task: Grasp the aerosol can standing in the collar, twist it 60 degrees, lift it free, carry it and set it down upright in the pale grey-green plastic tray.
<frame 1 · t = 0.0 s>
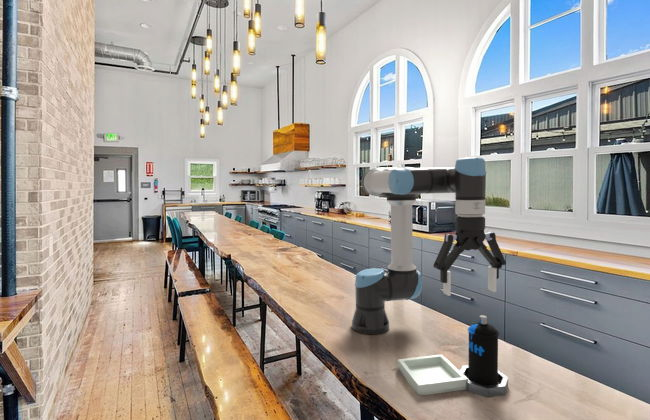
hand: (469, 292, 99), 28 cm above the table, fingers open, 13 cm apart
aerosol can: (482, 384, 104), resting in collar
tray: (431, 378, 108), on the table
collar: (482, 383, 104), on the table
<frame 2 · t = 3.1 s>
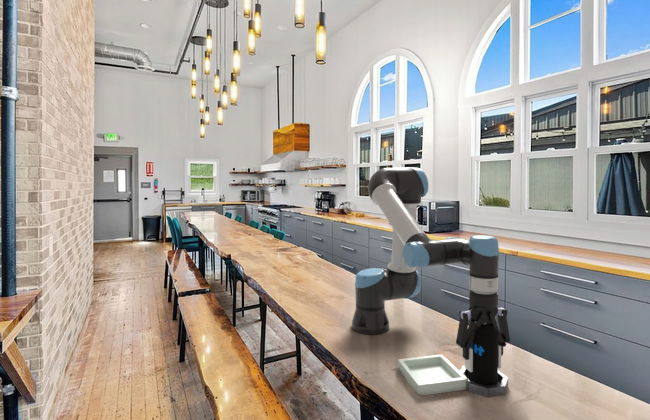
hand: (482, 367, 104), 5 cm above the table, fingers closed on aerosol can, 8 cm apart
aerosol can: (482, 384, 104), resting in collar, touching gripper
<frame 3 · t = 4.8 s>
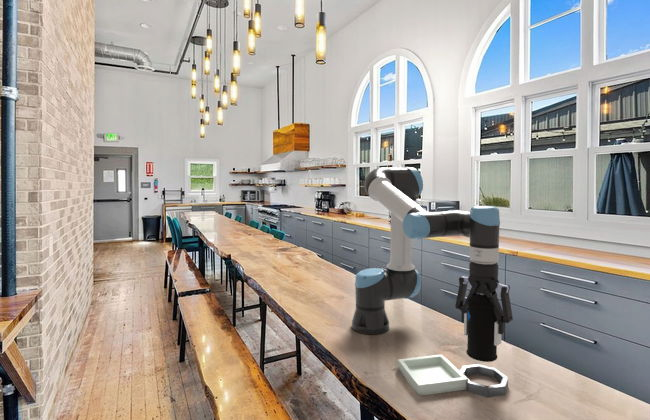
hand: (482, 338, 103), 13 cm above the table, fingers closed on aerosol can, 8 cm apart
aerosol can: (481, 355, 104), point 8 cm above the table, touching gripper
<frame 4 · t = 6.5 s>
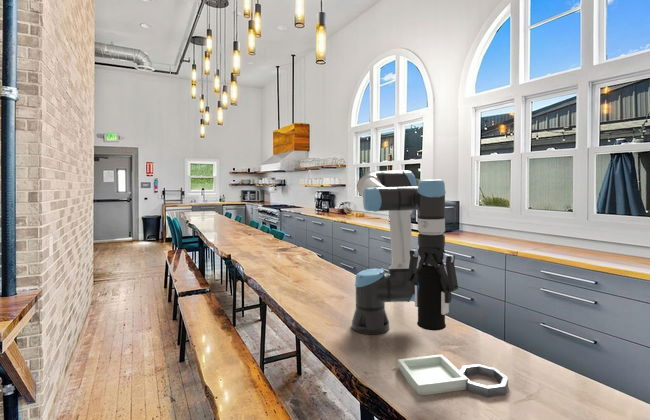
hand: (431, 309, 106), 21 cm above the table, fingers closed on aerosol can, 8 cm apart
aerosol can: (431, 325, 106), point 16 cm above the table, touching gripper
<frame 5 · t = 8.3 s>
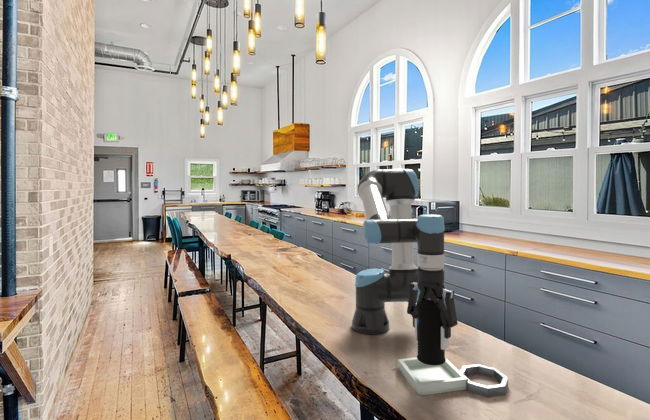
hand: (431, 343, 107), 11 cm above the table, fingers closed on aerosol can, 8 cm apart
aerosol can: (431, 359, 107), point 6 cm above the table, touching gripper
when the fingers open (7 cm above the table, at t = 10.0 s): aerosol can drops 1 cm, resting on tray.
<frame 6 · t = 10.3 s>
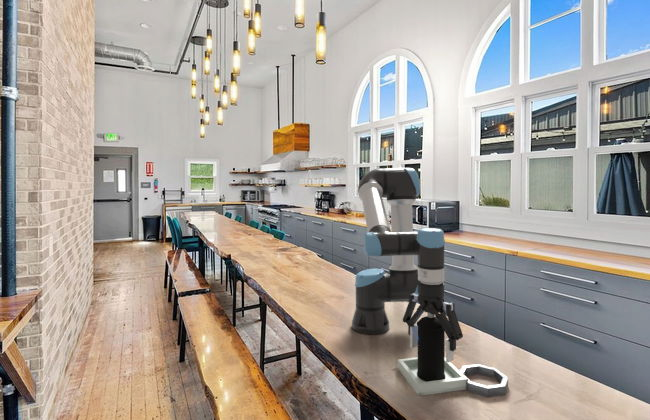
hand: (431, 353, 107), 8 cm above the table, fingers open, 11 cm apart
aerosol can: (430, 376, 108), point 1 cm above the table, touching tray
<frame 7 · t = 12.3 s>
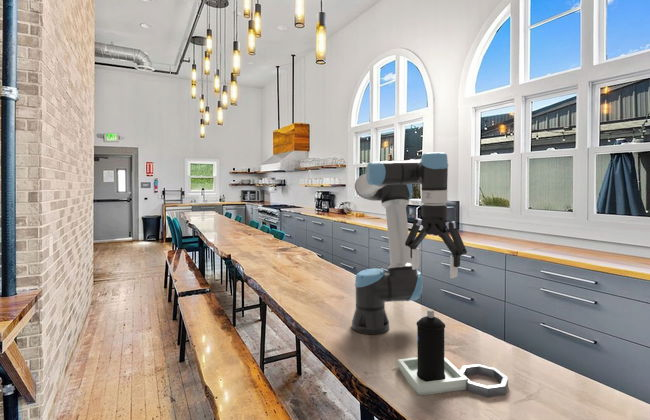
hand: (433, 273, 111), 31 cm above the table, fingers open, 13 cm apart
nothing on the table moved.
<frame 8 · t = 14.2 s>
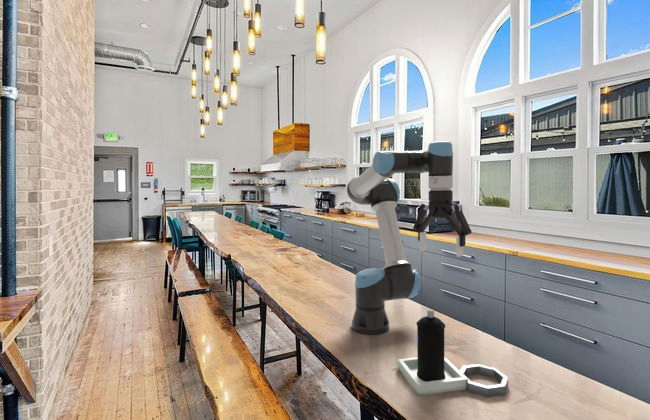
hand: (440, 253, 120), 35 cm above the table, fingers open, 13 cm apart
nothing on the table moved.
at the end: aerosol can inside the target area on the tray (0.0 cm from its centre), point 0.6 cm above the tray's base; aerosol can tilted 0°; the gripper is holding nothing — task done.
